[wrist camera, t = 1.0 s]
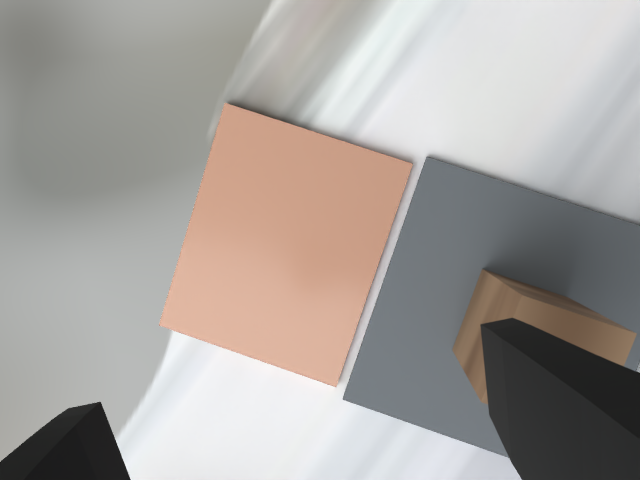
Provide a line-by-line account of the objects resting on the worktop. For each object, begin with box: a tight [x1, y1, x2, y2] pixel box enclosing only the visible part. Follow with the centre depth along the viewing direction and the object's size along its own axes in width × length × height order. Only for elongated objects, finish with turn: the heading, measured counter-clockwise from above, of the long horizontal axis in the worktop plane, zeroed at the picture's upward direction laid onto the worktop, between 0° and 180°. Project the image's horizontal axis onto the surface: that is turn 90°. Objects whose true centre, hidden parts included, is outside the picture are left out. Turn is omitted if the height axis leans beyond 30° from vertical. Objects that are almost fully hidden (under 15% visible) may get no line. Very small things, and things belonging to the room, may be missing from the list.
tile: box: [159, 103, 413, 387], centre depth 24 cm, size 9×11×1 cm
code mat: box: [343, 157, 640, 458], centre depth 24 cm, size 12×12×1 cm
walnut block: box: [452, 269, 637, 404], centre depth 21 cm, size 4×4×6 cm
